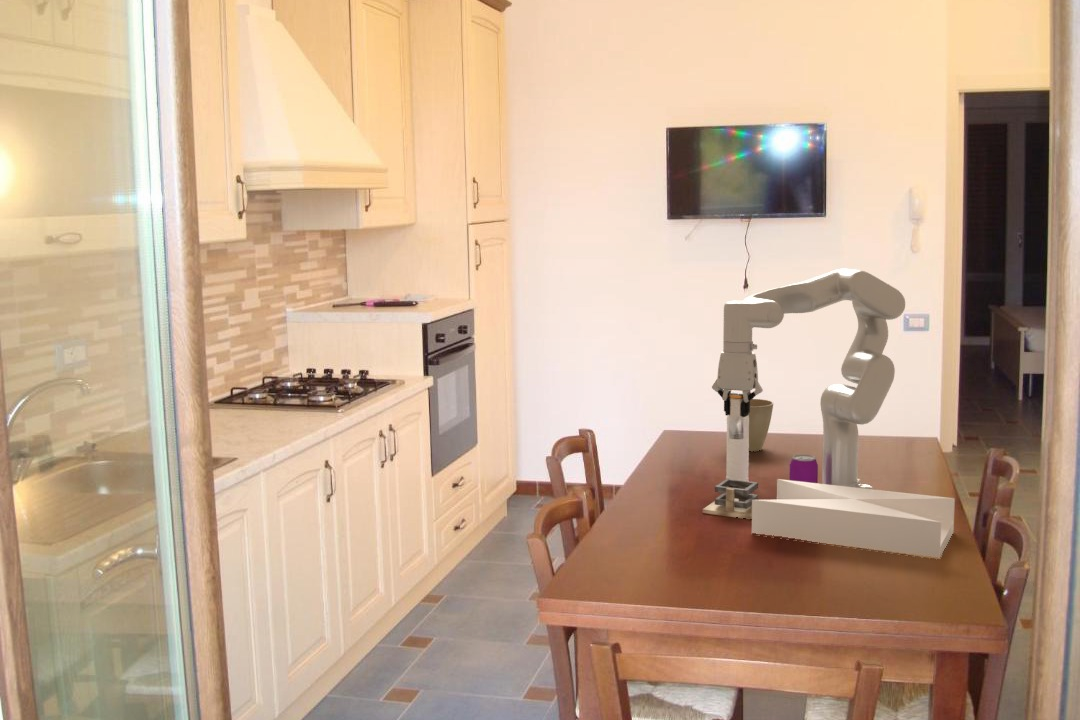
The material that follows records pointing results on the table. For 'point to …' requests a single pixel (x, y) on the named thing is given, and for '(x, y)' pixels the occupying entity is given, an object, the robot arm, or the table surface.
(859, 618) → the table surface
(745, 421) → the water bottle
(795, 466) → the beverage can
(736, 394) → the steel tube
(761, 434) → the plant pot
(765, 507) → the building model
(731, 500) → the collar stand
